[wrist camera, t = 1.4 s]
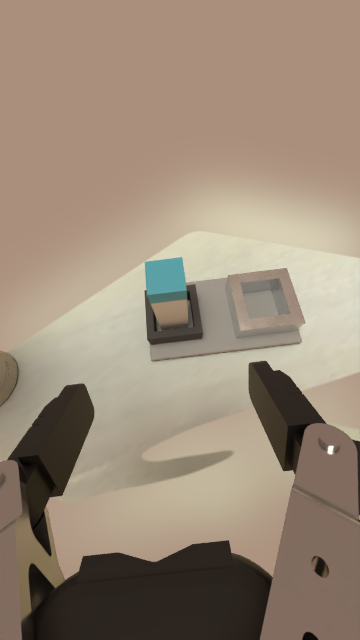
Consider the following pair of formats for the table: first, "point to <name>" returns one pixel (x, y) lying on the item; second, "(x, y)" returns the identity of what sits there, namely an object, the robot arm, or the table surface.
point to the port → (283, 299)
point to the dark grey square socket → (175, 334)
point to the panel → (223, 324)
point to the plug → (167, 292)
